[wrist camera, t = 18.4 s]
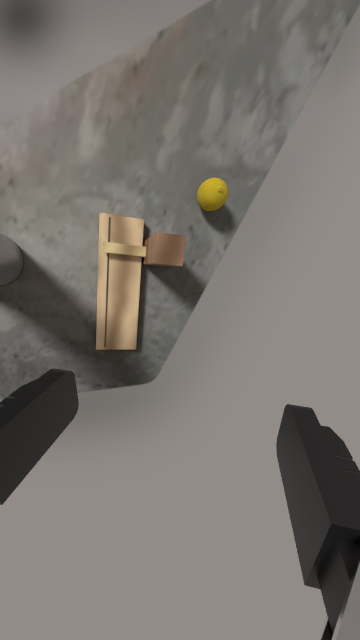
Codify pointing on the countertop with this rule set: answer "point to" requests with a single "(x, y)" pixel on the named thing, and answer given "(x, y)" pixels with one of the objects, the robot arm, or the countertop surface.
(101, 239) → the board
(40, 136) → the countertop surface
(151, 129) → the countertop surface
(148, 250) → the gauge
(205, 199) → the lemon
